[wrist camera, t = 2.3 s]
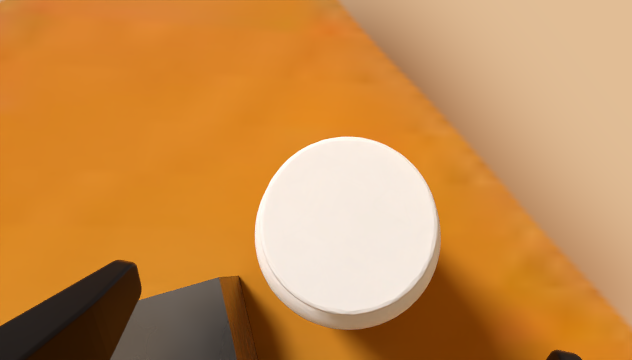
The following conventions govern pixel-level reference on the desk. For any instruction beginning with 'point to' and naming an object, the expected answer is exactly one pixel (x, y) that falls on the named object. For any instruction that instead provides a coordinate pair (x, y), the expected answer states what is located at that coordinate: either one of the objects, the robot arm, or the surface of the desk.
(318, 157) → the supplement bottle
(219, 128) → the desk surface
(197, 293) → the socket block
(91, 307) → the robot arm
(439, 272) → the desk surface
